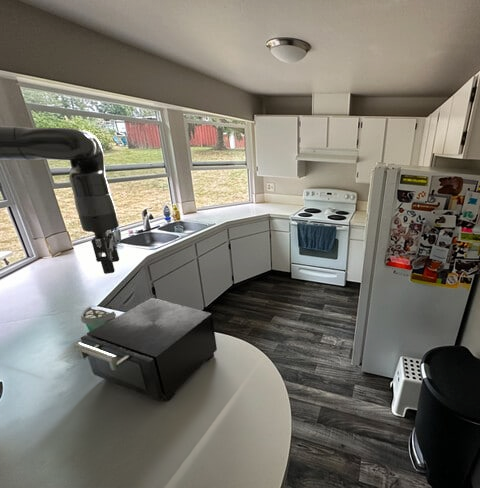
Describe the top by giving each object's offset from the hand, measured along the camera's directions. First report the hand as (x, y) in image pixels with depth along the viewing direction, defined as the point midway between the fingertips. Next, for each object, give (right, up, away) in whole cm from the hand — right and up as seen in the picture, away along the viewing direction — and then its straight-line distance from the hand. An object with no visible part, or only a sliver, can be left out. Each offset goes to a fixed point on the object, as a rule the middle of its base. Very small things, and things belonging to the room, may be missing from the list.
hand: (112, 266), depth 71 cm
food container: (-23, -28, +22) cm, 43 cm away
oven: (+8, -34, +10) cm, 36 cm away
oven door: (+4, -35, -3) cm, 35 cm away
